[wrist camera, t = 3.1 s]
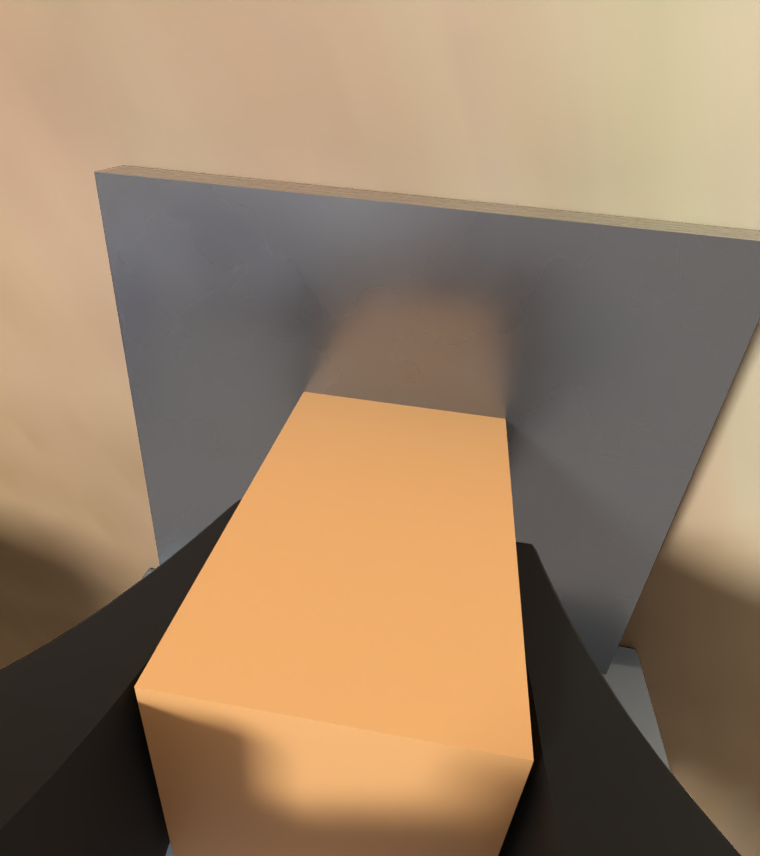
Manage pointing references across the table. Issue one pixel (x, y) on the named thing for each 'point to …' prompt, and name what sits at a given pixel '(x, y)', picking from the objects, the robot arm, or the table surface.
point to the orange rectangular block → (351, 648)
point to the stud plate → (433, 349)
